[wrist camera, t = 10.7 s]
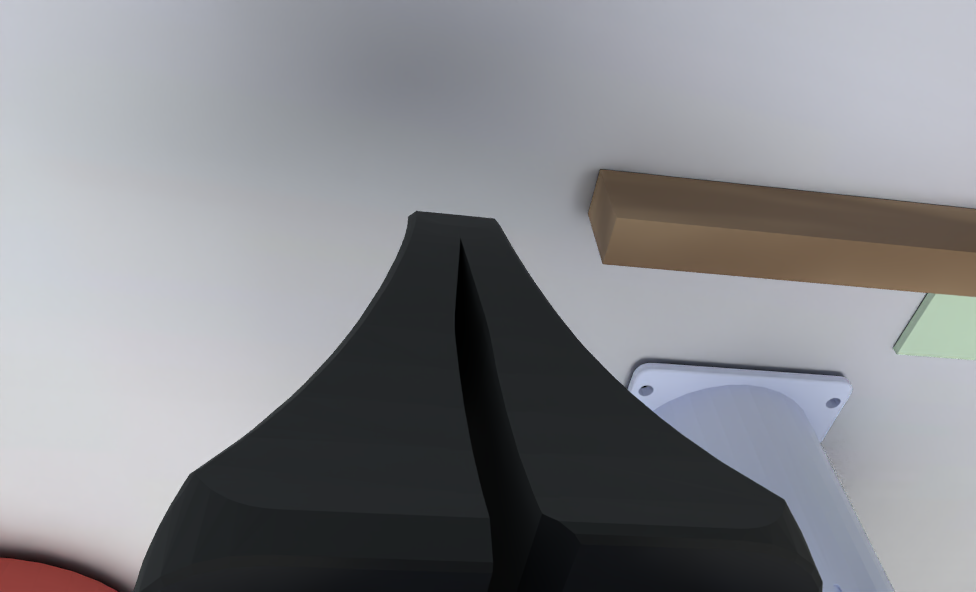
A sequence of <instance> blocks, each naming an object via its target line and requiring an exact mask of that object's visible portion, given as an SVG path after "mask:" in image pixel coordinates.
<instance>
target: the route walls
mask: <svg viewBox="0 0 976 592" xmlns="http://www.w3.org/2000/svg"><path fill="white" fill-rule="evenodd" d="M588 215H589V219H590V222H591V226H592V229H593V233H594V236H595V239H596V243H597V246H598V250H599V253H600V256H601V260H602V263H603V264H607V265H619V266H630V267H641V268H652V269H664V270H675V271H686V272H697V273H709V274H720V275H731V276H743V277H754V278H765V279H776V280H788V281H799V282H810V283H821V284H833V285H844V286H855V287H866V288H878V289H889V290H900V291H911V292H923V293H934V294H945V295H957V296H968V297H976V209H969V208H960V207H950V206H941V205H931V204H922V203H913V202H903V201H894V200H884V199H875V198H865V197H856V196H847V195H837V194H828V193H818V192H809V191H800V190H790V189H781V188H771V187H762V186H753V185H743V184H734V183H724V182H715V181H706V180H696V179H687V178H677V177H668V176H659V175H649V174H640V173H630V172H621V171H612V170H602V169H600V171H599V175H598V179H597V182H596V186H595V190H594V194H593V197H592V201H591V205H590V208H589V212H588Z"/></svg>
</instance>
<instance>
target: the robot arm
mask: <svg viewBox="0 0 976 592" xmlns="http://www.w3.org/2000/svg"><path fill="white" fill-rule="evenodd" d="M646 385H649V386H647V387H645V388H641V387H643V386H646ZM852 390H853V388H852V385H851V383H850V382H849V380H848V379H847V378H846V377H842V376H830V375H816V374H802V373H788V372H774V371H760V370H746V369H731V368H717V367H703V366H689V365H675V364H661V363H645V364H642V365H640V366H639V367H638V368H636V370H635V371H634V373H633V376H632V379H631V381H630V384H629V387H628V389H626V388H625V387H624V386H623V385H622V384H621V383H620V382H619V381H618V380H616V379H615V378H614V377H613V376H612V375H611V374H610V373H609V372H608V371H607V370H606V369H605V368H604V367H603V366H602V365H601V363H600V362H599V361H598V360H597V359H596V358H595V357H594V356H593V355H592V354H591V353H590V352H589V351H588V350H587V349H586V348H585V347H584V346H583V345H582V344H581V342H580V341H579V340H578V339H577V338H576V336H575V335H574V334H573V333H572V332H571V330H570V329H569V328H568V327H567V325H566V324H565V323H564V322H563V320H562V319H561V318H560V317H559V315H558V314H557V313H556V311H555V310H554V309H553V307H552V306H551V305H550V303H549V302H548V300H547V299H546V297H545V296H544V295H543V293H542V292H541V290H540V289H539V288H538V286H537V285H536V283H535V282H534V280H533V279H532V277H531V276H530V274H529V273H528V271H527V270H526V268H525V267H524V265H523V263H522V262H521V260H520V259H519V257H518V256H517V254H516V252H515V251H514V249H513V247H512V246H511V244H510V242H509V240H508V239H507V237H506V235H505V233H504V232H503V230H502V228H501V226H500V225H499V224H498V222H497V221H496V220H495V219H493V218H482V217H472V216H462V215H452V214H442V213H431V212H421V211H416V212H414V213H413V214H412V215H410V216H409V217H408V225H407V230H406V234H405V237H404V240H403V242H402V245H401V247H400V250H399V252H398V254H397V257H396V259H395V261H394V263H393V265H392V266H391V268H390V270H389V272H388V274H387V276H386V278H385V280H384V282H383V283H382V285H381V287H380V289H379V290H378V292H377V293H376V295H375V296H374V298H373V299H372V301H371V303H370V304H369V306H368V307H367V309H366V310H365V312H364V313H363V315H362V316H361V318H360V319H359V321H358V322H357V323H356V325H355V326H354V327H353V329H352V330H351V331H350V333H349V334H348V335H347V337H346V338H345V339H344V340H343V342H342V343H341V344H340V345H339V346H338V348H337V349H336V350H335V351H334V352H333V354H332V355H331V356H330V357H329V358H328V359H327V360H326V361H325V362H324V364H323V365H322V366H321V367H320V368H319V369H318V370H317V371H316V372H315V373H314V374H313V375H312V376H311V377H310V378H309V380H308V381H307V382H306V383H305V384H304V385H303V386H302V387H301V388H300V389H298V390H297V391H296V392H295V393H294V394H293V395H292V396H291V397H290V398H289V399H288V400H287V401H285V402H284V403H283V404H282V405H281V406H280V407H278V408H277V409H276V410H275V411H274V412H273V413H271V414H270V415H269V416H268V417H267V418H266V419H264V420H263V421H262V422H261V423H260V424H258V425H257V426H256V427H255V428H254V429H253V430H251V431H250V432H249V433H247V434H246V435H245V436H244V437H242V438H241V439H240V440H238V441H237V442H235V443H234V444H232V445H231V446H230V447H228V448H227V449H225V450H224V451H222V452H221V453H220V454H218V455H217V456H215V457H214V458H212V459H211V460H210V461H208V462H207V463H205V464H204V465H202V466H201V467H200V468H198V469H197V470H195V471H194V472H192V473H191V474H189V476H188V478H187V479H186V481H185V482H184V484H183V485H182V487H181V489H180V490H179V492H178V494H177V495H176V497H175V499H174V500H173V502H172V504H171V505H170V507H169V509H168V511H167V512H166V514H165V516H164V518H163V520H162V522H161V523H160V525H159V527H158V529H157V531H156V534H155V536H154V538H153V540H152V542H151V544H150V546H149V549H148V551H147V553H146V556H145V558H144V560H143V563H142V566H141V569H140V572H139V575H138V579H137V582H136V585H135V588H134V591H133V592H895V591H894V589H893V587H892V585H891V583H890V581H889V579H888V577H887V575H886V573H885V571H884V569H883V567H882V565H881V563H880V561H879V559H878V557H877V555H876V553H875V551H874V549H873V547H872V545H871V543H870V541H869V539H868V537H867V535H866V533H865V531H864V529H863V527H862V525H861V523H860V521H859V519H858V517H857V515H856V513H855V511H854V509H853V507H852V505H851V503H850V501H849V499H848V498H847V496H846V494H845V492H844V490H843V488H842V486H841V484H840V482H839V480H838V478H837V476H836V474H835V472H834V470H833V468H832V466H831V464H830V462H829V460H828V458H827V456H826V454H825V452H824V450H823V448H822V446H821V442H822V440H823V439H824V437H825V435H826V434H827V432H828V431H829V429H830V427H831V426H832V424H833V423H834V421H835V419H836V418H837V416H838V414H839V413H840V411H841V410H842V408H843V406H844V405H845V403H846V401H847V400H848V398H849V397H850V395H851V393H852Z"/></svg>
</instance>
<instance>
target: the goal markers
mask: <svg viewBox="0 0 976 592" xmlns="http://www.w3.org/2000/svg"><path fill="white" fill-rule="evenodd" d="M893 349H894V351H895V352H896V354H899V355H912V356H925V357H938V358H951V359H964V360H976V297H968V296H957V295H945V294H934V293H928V294H927V295H926V297H925V299H924V300H923V302H922V303H921V305H920V306H919V308H918V310H917V311H916V313H915V314H914V316H913V318H912V319H911V321H910V322H909V324H908V326H907V327H906V329H905V330H904V332H903V333H902V335H901V337H900V338H899V340H898V341H897V343H896V345H895V346H894V348H893Z"/></svg>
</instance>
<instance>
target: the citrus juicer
mask: <svg viewBox="0 0 976 592" xmlns="http://www.w3.org/2000/svg"><path fill="white" fill-rule="evenodd" d="M0 592H118V591H116V590H114V589H112V588H110V587H108V586H107V585H105V584H103V583H101V582H99V581H97V580H94V579H91V578H89V577H86V576H84V575H81V574H78V573H76V572H73V571H70V570H66V569H62V568H58V567H54V566H51V565H47V564H43V563H37V562H31V561H24V560H18V559H11V558H0Z"/></svg>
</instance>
